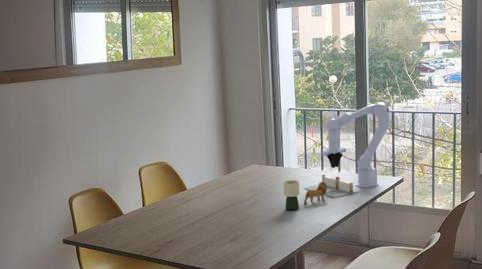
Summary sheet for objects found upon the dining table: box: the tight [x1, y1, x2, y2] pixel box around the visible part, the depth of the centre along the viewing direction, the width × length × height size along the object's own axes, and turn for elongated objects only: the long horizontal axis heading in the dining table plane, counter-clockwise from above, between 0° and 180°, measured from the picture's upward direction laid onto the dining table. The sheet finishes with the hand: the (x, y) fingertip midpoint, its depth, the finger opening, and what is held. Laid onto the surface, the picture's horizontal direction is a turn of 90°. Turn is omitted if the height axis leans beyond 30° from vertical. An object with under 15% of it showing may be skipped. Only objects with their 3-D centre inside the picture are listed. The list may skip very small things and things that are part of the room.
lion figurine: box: [303, 181, 327, 206], centre depth 288 cm, size 15×5×9 cm, turn 130°
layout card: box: [303, 184, 360, 199], centre depth 308 cm, size 16×24×1 cm, turn 31°
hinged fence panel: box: [321, 174, 336, 187], centre depth 315 cm, size 11×2×5 cm, turn 31°
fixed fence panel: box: [335, 176, 354, 193], centre depth 305 cm, size 12×2×6 cm, turn 31°
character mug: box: [283, 179, 300, 211], centre depth 279 cm, size 11×7×13 cm, turn 20°
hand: (334, 167), depth 318 cm, fingers closed
